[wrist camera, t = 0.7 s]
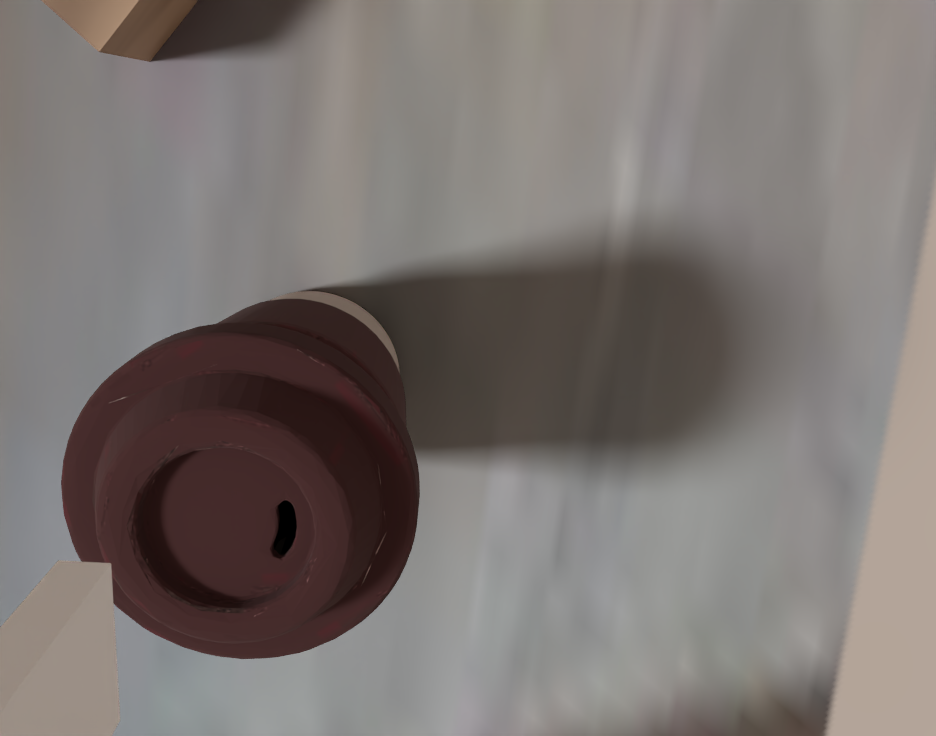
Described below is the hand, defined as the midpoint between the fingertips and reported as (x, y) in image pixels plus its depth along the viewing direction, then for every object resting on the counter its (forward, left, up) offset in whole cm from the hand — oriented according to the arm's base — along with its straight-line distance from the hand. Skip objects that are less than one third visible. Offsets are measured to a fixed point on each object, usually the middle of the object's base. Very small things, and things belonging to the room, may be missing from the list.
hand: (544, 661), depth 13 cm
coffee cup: (-1, -8, -24) cm, 26 cm away
